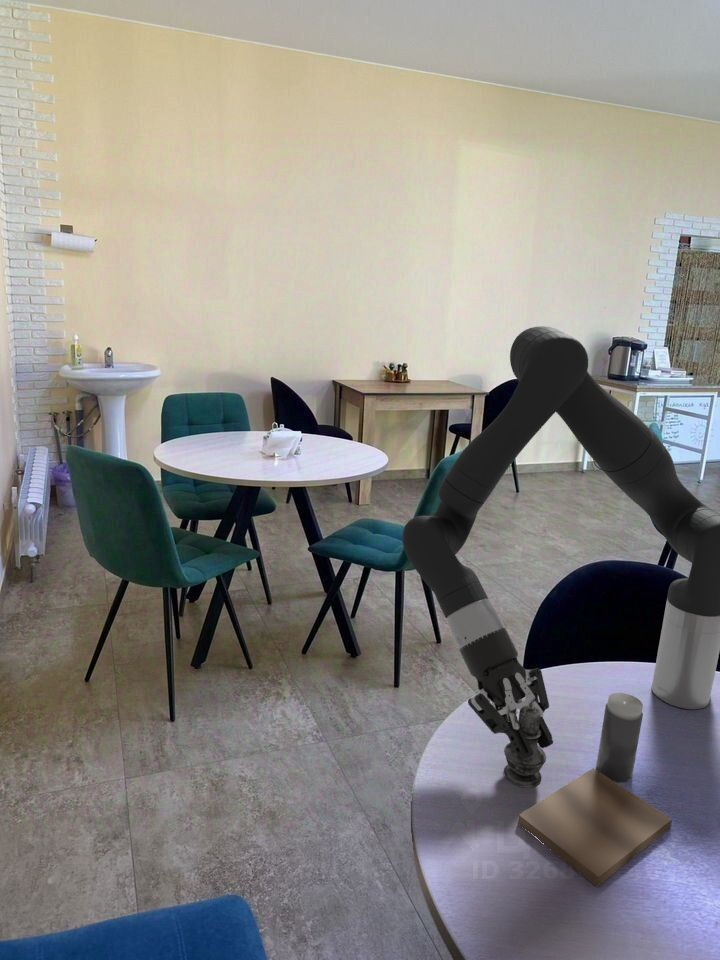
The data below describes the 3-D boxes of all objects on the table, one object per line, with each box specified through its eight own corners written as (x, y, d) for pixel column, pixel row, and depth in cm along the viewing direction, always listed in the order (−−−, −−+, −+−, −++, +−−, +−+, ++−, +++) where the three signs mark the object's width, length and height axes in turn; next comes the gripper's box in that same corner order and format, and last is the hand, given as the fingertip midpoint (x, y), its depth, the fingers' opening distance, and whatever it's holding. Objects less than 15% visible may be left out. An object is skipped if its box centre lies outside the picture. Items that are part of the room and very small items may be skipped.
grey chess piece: (544, 792, 98) (554, 717, 95) (501, 785, 99) (509, 710, 96) (542, 764, 104) (552, 693, 100) (501, 758, 105) (509, 687, 101)
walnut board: (591, 776, 102) (593, 767, 101) (670, 828, 93) (672, 819, 92) (517, 824, 92) (518, 814, 92) (596, 887, 83) (598, 876, 83)
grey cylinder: (609, 754, 107) (620, 688, 104) (639, 773, 103) (651, 704, 100) (589, 767, 104) (599, 699, 101) (619, 786, 100) (631, 716, 97)
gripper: (461, 641, 97) (521, 765, 92) (528, 615, 106) (587, 727, 100) (432, 659, 103) (487, 776, 97) (498, 632, 111) (552, 739, 106)
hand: (537, 750), depth 99 cm, fingers closed on grey chess piece, 3 cm apart
